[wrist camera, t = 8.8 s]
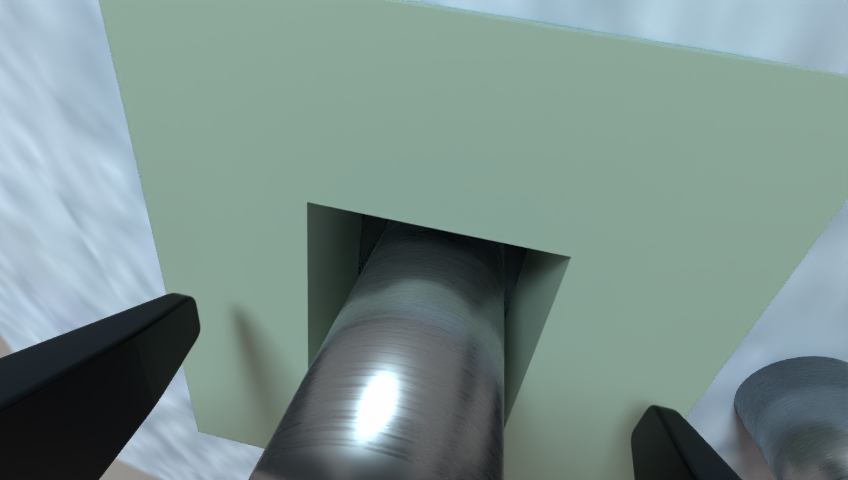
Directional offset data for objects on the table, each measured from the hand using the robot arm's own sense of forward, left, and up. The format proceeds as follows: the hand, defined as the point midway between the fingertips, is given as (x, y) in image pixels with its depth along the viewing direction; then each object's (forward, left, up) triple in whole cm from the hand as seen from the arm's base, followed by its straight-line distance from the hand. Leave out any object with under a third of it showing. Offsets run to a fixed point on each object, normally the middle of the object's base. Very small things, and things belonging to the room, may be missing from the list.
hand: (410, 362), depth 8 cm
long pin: (0, 0, -5) cm, 5 cm away
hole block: (0, 0, -5) cm, 5 cm away
